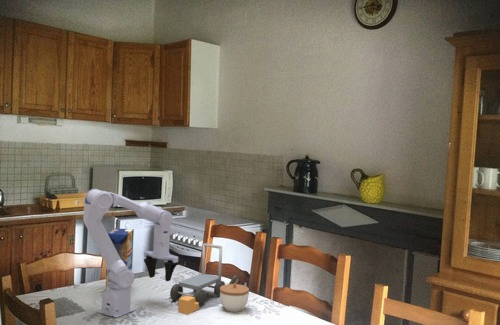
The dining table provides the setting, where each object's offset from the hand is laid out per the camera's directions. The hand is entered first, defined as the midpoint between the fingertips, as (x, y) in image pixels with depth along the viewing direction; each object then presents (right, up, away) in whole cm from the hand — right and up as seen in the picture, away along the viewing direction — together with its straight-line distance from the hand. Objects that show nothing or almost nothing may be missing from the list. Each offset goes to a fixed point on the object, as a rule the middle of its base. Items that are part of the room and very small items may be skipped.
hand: (159, 278), depth 174 cm
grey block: (+27, -11, +16) cm, 34 cm away
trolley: (+14, -10, +10) cm, 20 cm away
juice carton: (-19, -8, +13) cm, 24 cm away
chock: (+11, -10, -5) cm, 16 cm away
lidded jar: (+27, -11, -1) cm, 29 cm away
